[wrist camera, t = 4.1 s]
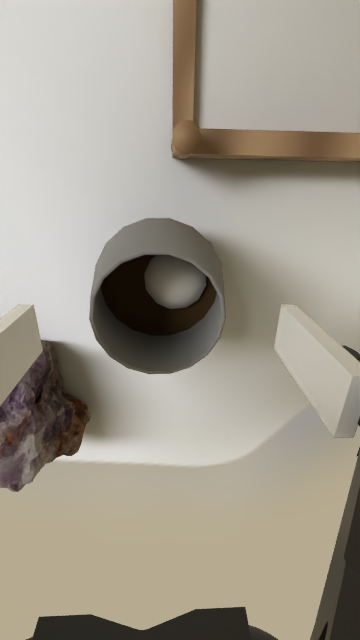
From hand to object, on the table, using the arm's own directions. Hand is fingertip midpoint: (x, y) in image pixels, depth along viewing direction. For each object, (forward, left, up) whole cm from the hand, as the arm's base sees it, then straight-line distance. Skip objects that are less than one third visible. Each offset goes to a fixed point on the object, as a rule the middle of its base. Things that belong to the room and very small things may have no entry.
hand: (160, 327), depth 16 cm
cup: (0, 0, -11) cm, 11 cm away
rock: (-13, -12, -11) cm, 21 cm away
